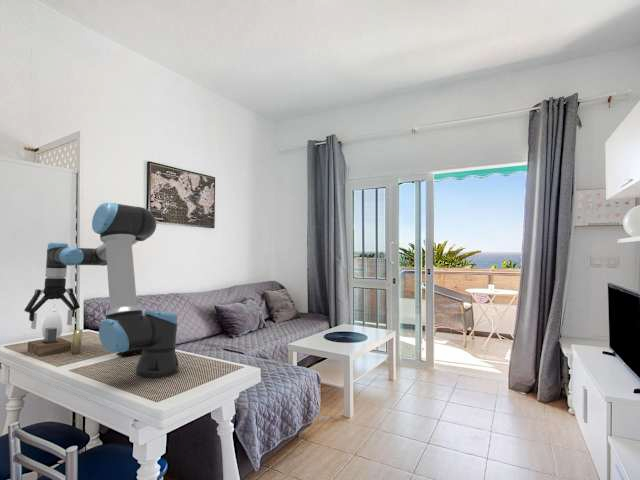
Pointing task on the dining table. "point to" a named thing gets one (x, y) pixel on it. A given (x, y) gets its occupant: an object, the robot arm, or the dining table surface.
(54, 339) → the square bit
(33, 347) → the socket board
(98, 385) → the dining table surface
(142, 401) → the dining table surface
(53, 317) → the white air blower
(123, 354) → the end cap
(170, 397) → the dining table surface
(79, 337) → the round bit
